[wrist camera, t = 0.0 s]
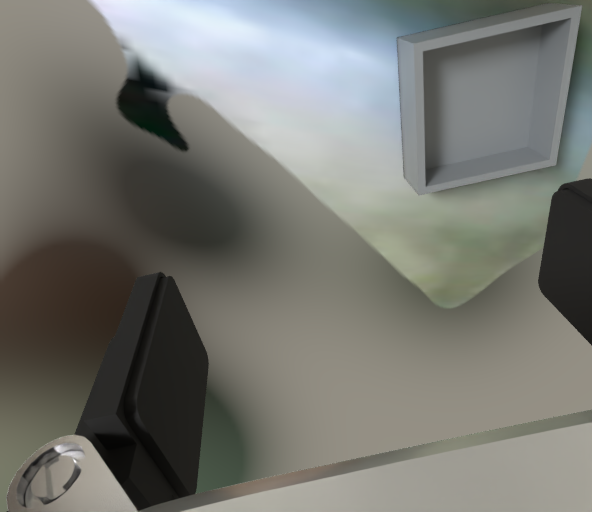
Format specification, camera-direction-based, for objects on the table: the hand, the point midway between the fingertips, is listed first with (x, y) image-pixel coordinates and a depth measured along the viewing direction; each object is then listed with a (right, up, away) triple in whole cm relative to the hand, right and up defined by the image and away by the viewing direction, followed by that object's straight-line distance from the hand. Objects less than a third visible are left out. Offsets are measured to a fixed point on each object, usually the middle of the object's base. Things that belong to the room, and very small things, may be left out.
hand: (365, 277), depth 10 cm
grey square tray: (+17, +17, +35) cm, 42 cm away
